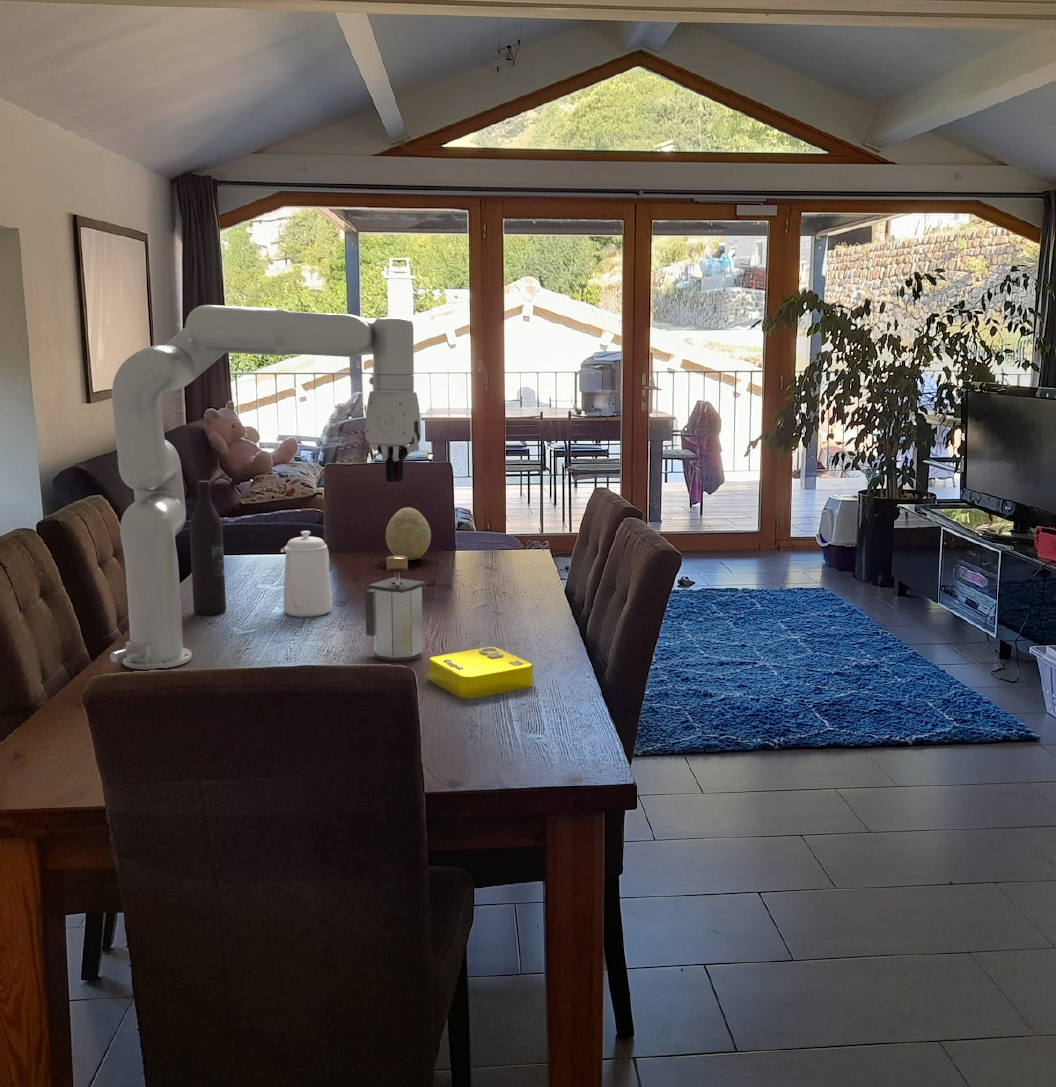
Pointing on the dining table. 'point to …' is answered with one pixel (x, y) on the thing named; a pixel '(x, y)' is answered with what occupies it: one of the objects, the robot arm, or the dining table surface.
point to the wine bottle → (207, 556)
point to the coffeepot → (306, 577)
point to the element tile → (480, 672)
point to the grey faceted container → (395, 619)
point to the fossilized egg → (408, 534)
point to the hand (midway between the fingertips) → (394, 481)
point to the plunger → (397, 566)
